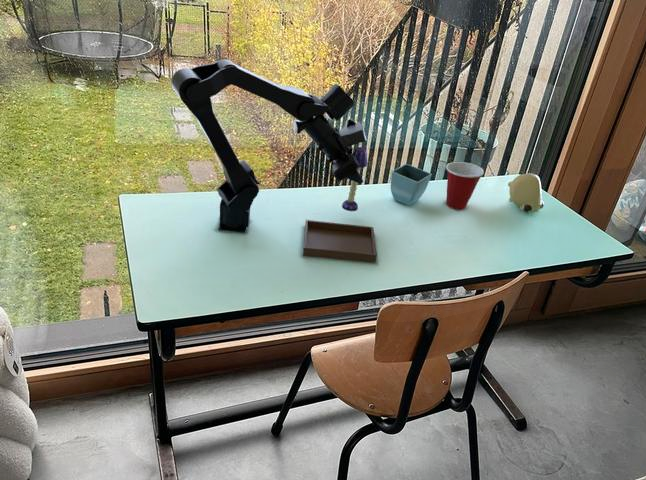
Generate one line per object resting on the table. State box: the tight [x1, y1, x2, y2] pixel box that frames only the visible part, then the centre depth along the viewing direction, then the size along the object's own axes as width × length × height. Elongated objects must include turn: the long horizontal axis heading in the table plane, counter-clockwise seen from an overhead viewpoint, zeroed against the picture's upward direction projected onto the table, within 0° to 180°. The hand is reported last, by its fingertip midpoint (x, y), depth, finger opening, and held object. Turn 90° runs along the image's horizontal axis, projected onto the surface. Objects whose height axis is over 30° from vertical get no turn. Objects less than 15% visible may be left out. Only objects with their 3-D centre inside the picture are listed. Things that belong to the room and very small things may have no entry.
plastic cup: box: [445, 161, 485, 211], centre depth 164 cm, size 11×11×12 cm
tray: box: [302, 219, 378, 264], centre depth 138 cm, size 17×13×2 cm
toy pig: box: [507, 173, 545, 214], centre depth 171 cm, size 10×12×11 cm
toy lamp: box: [341, 146, 368, 212], centre depth 144 cm, size 5×5×17 cm
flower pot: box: [390, 163, 432, 207], centre depth 162 cm, size 9×9×9 cm
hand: (360, 178), depth 145 cm, fingers closed on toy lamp, 4 cm apart
